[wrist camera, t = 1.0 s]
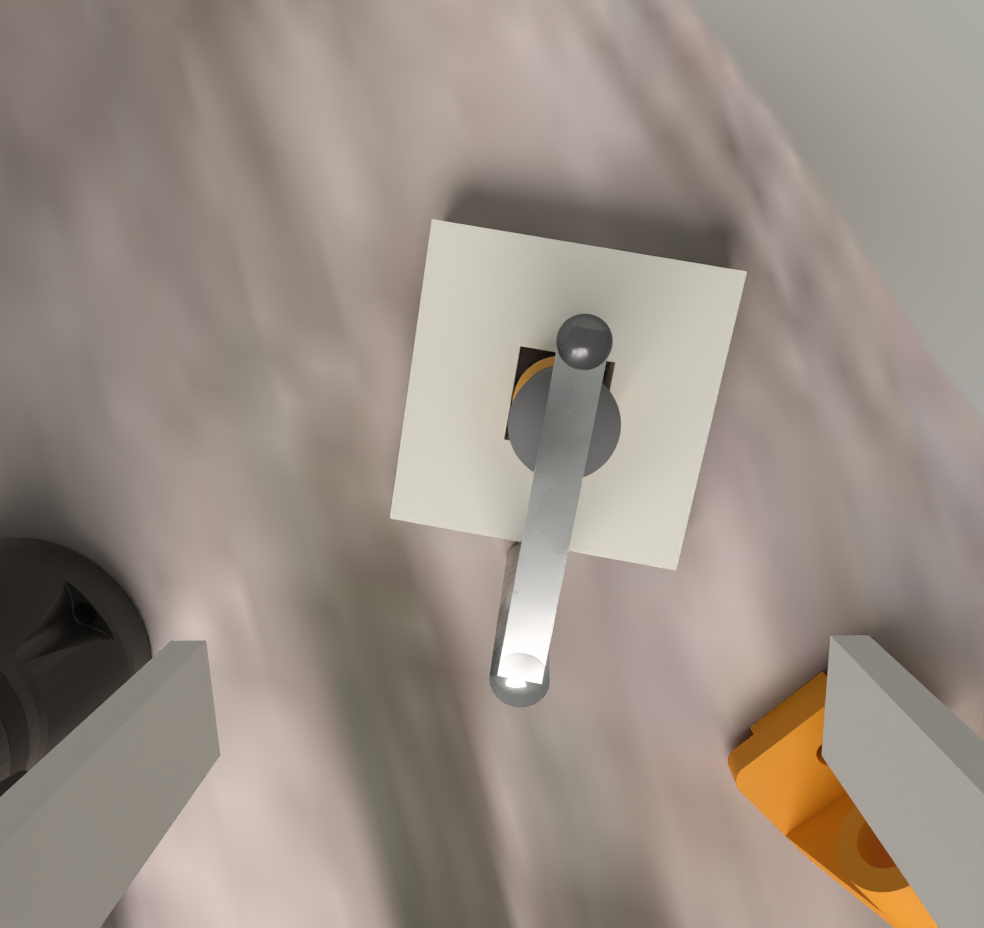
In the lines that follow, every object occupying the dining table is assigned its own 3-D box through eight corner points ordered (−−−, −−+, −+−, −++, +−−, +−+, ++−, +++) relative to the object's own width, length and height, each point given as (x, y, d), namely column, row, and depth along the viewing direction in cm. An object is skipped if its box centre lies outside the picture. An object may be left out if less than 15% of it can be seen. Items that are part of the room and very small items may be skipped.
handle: (503, 575, 42) (485, 701, 28) (551, 312, 38) (556, 308, 25) (543, 583, 42) (543, 712, 28) (594, 319, 38) (623, 319, 25)
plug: (508, 429, 40) (496, 472, 29) (523, 346, 39) (515, 357, 28) (591, 443, 40) (610, 492, 29) (607, 360, 39) (634, 377, 28)
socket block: (400, 504, 41) (390, 518, 39) (440, 226, 38) (431, 219, 35) (666, 552, 41) (676, 570, 38) (730, 275, 38) (747, 271, 35)
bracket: (856, 643, 41) (980, 771, 30) (934, 725, 42) (1085, 881, 30) (717, 751, 43) (781, 911, 32) (793, 827, 44) (884, 1011, 32)
